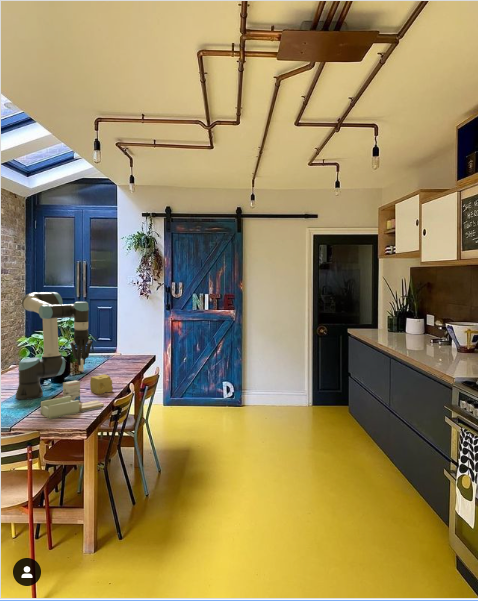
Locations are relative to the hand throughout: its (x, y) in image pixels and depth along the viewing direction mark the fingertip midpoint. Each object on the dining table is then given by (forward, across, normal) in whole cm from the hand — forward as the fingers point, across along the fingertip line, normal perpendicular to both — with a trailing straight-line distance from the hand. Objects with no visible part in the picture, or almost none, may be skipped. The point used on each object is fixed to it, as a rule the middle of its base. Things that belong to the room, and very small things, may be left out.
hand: (81, 370), depth 235 cm
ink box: (+22, +2, +17) cm, 28 cm away
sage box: (+22, -12, -1) cm, 25 cm away
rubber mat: (+22, +3, -1) cm, 22 cm away
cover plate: (+21, +4, -1) cm, 22 cm away
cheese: (+22, +25, +25) cm, 42 cm away
